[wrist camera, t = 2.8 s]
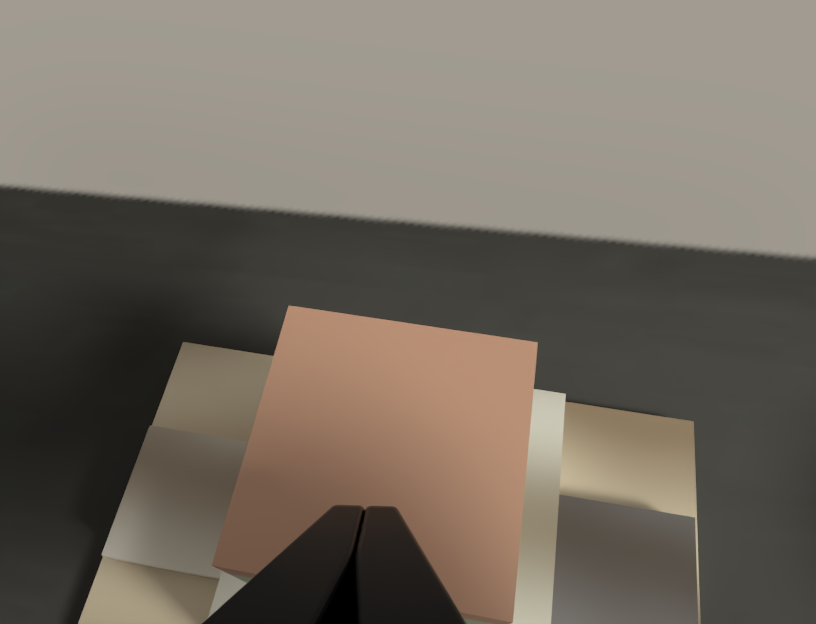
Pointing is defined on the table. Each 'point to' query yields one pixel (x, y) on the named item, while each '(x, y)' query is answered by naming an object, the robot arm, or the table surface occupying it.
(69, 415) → the table surface
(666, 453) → the card holder
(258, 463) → the block
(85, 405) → the table surface
